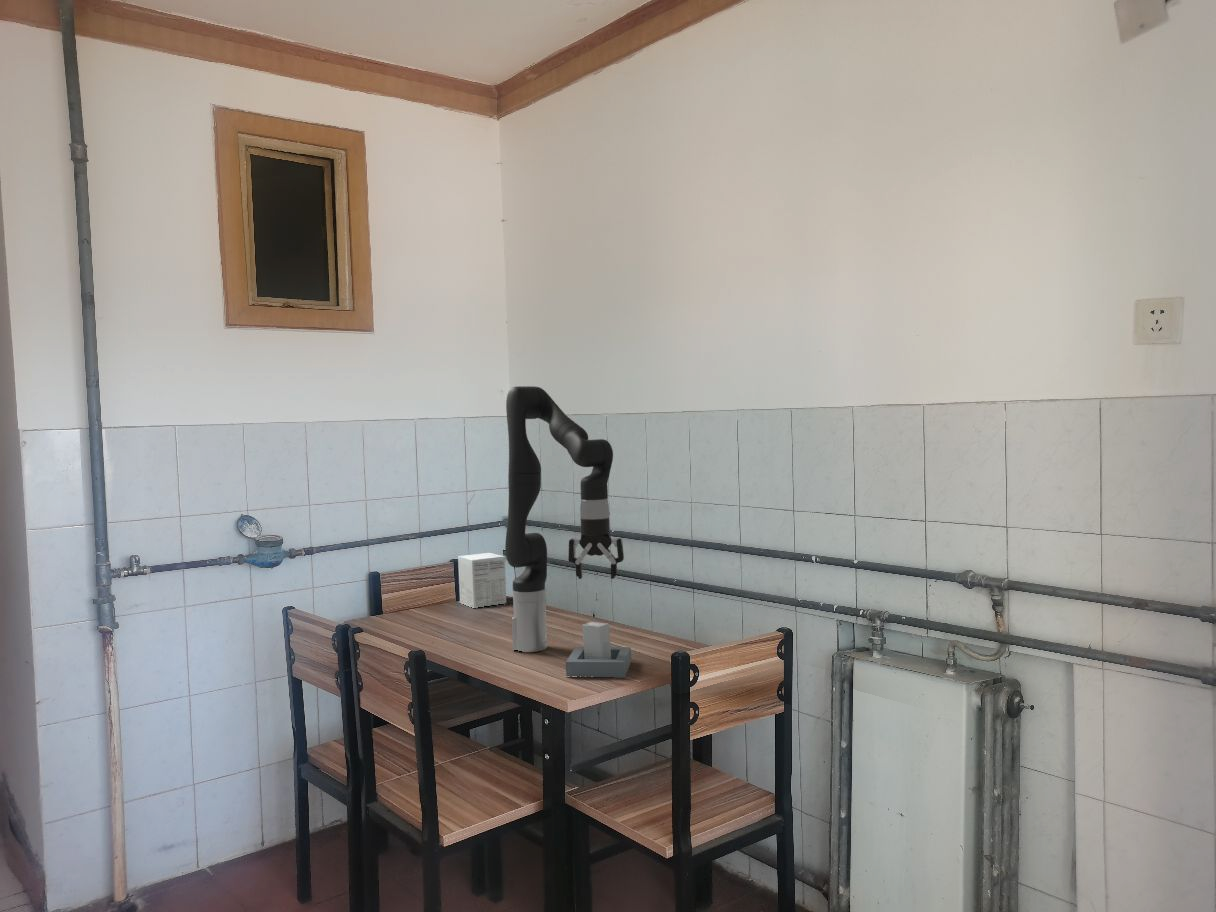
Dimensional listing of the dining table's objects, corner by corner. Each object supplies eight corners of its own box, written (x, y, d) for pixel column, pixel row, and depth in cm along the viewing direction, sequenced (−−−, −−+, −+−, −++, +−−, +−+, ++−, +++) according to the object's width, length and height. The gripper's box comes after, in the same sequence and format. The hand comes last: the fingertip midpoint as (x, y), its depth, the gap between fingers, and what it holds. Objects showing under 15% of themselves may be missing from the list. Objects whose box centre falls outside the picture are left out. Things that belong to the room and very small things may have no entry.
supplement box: (507, 604, 326) (505, 556, 325) (473, 609, 319) (471, 560, 319) (492, 598, 337) (490, 552, 337) (458, 603, 330) (457, 555, 330)
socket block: (566, 677, 230) (565, 661, 230) (576, 661, 245) (575, 647, 245) (624, 677, 228) (624, 662, 228) (631, 661, 243) (630, 647, 243)
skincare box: (612, 669, 237) (611, 623, 236) (602, 673, 233) (600, 626, 233) (593, 665, 240) (592, 620, 240) (583, 669, 237) (581, 624, 236)
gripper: (565, 518, 232) (567, 581, 233) (620, 517, 231) (622, 580, 231) (570, 515, 240) (572, 576, 241) (623, 514, 238) (625, 575, 239)
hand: (596, 578), depth 236 cm, fingers open, 8 cm apart
